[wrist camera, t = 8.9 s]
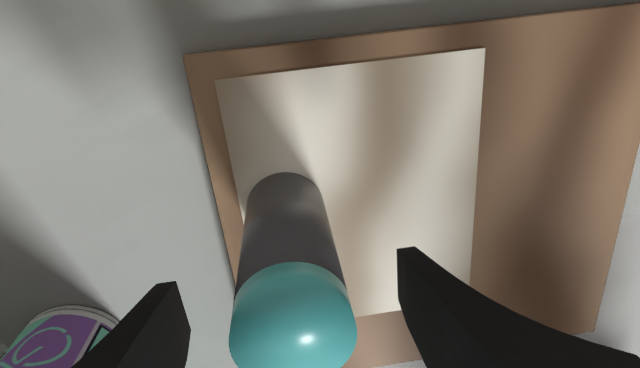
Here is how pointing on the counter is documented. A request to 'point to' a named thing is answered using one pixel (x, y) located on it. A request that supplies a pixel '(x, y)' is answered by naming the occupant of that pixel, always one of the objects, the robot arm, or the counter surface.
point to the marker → (289, 282)
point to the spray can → (58, 337)
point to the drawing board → (441, 155)
